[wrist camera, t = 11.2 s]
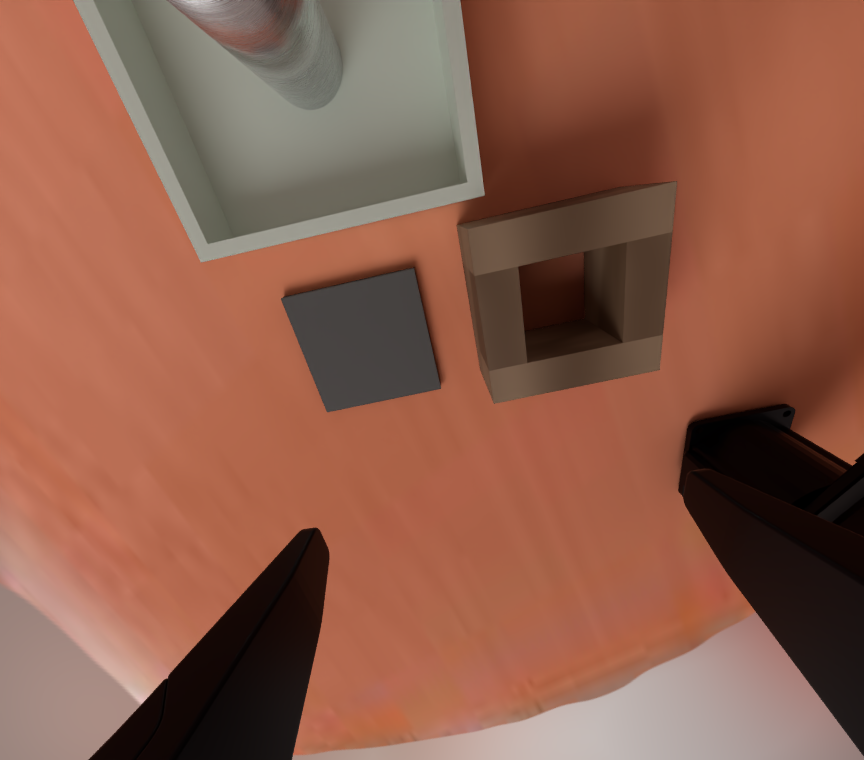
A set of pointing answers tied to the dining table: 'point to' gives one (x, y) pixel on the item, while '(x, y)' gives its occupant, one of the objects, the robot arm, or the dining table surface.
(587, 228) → the brown hollow block
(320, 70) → the pin
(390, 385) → the mat
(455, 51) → the tray
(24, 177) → the dining table surface
